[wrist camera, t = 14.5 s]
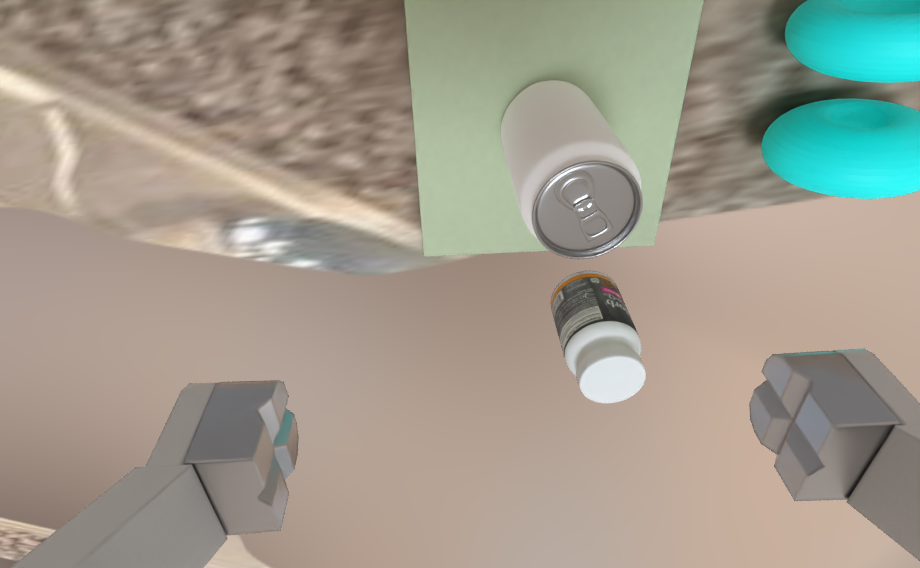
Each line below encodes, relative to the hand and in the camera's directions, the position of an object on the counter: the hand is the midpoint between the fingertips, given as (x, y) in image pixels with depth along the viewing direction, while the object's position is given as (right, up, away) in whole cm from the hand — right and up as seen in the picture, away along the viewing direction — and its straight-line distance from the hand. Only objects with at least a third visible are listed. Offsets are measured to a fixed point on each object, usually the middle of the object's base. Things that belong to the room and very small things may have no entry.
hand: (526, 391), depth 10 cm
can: (+5, +13, +29) cm, 32 cm away
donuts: (+23, +16, +28) cm, 39 cm away
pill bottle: (+9, +1, +38) cm, 39 cm away
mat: (+5, +13, +29) cm, 32 cm away
